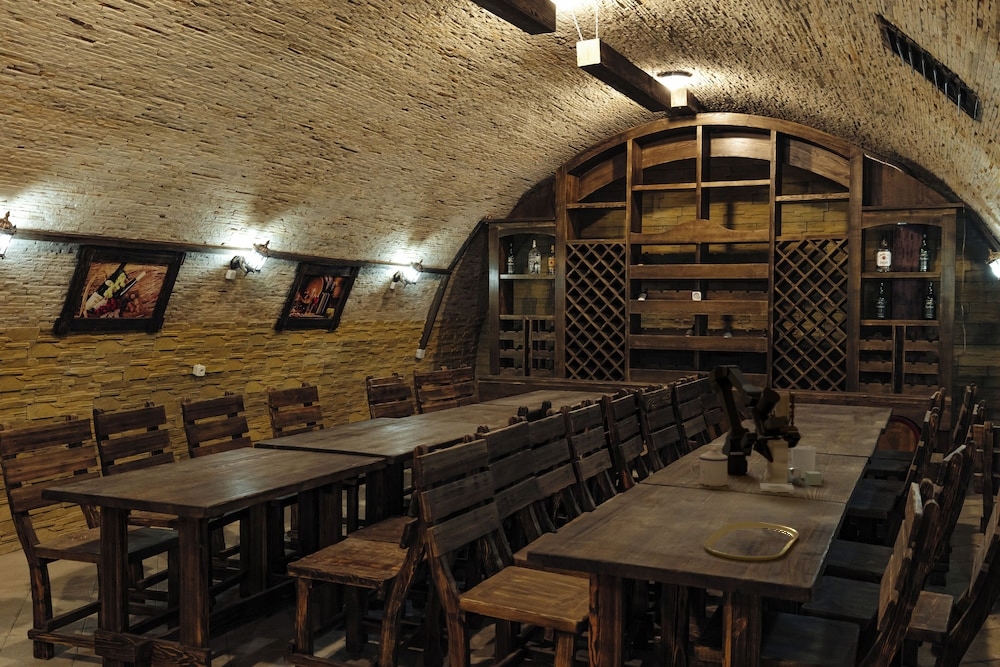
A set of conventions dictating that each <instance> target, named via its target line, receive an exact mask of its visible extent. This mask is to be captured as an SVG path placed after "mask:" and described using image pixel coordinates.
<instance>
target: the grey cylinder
mask: <svg viewBox="0 0 1000 667" xmlns="http://www.w3.org/2000/svg"><path fill="white" fill-rule="evenodd" d="M787 483H792V484H799V483H801V484H802V478H801V468H798V467H792V466H789V467H788V466H787ZM787 483H786V484H787ZM792 484H791V485H792Z"/></svg>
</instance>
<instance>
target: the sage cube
mask: <svg viewBox="0 0 1000 667" xmlns="http://www.w3.org/2000/svg"><path fill="white" fill-rule="evenodd" d="M822 476H823V475H822V473H821V472H819V471H817V470H816V471H805V478H804V484H805V483H807V484H809V485H821V486H822ZM807 484H806V485H807ZM809 485H808V486H809Z"/></svg>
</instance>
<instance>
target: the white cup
mask: <svg viewBox="0 0 1000 667" xmlns="http://www.w3.org/2000/svg"><path fill="white" fill-rule="evenodd" d="M790 449H791V450H790V451H791V467H798V468H801V479H805V471H814V470H815V463H816V453H817V452H816V449H817V448H816V447H814V446H807V445H796V447H794V448H790Z"/></svg>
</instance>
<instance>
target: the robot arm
mask: <svg viewBox="0 0 1000 667" xmlns="http://www.w3.org/2000/svg"><path fill="white" fill-rule="evenodd" d="M707 379H708V382H709V384H710V386H711V388H712V390H713V391H714V392H715V393H716V394H718V398H719V401H720V405H721V410H722V412H723V413H722V414H723V416H724V421H725V424H726V426H727V427H726V428H727V433H726V436H725V442H724V444H723V445H722V448H721V453H722V454H723V455H726V456H727V457H728V460H727V475H735V476H736V475H737V476H740V475H741V476H746V475H747V473H748V469H749V468H748V467H749V466H748V465H749V464H748V462H749V461H748V459H747V457H751V456H752V452H753V451H754V452H756V453H757V454H758V455H760V456H762V457H763V458H764V459H766V460H768V461H769V462H771V463H773V458H772V455H771V453H770V450H769V448H768V440H783V441H786V442H788V449H791V448H794V447H796V446H798V444H799V443H800V440H801V439H802V435H801V433H800V432H799V431H798V432H797V431H792V432H785V434H784V435H779V434H781V433H782V432H781V429H782V428H784V427H786V426H788V425H790V423H789V419H788V417H787V416H781V417H771V416H770V413H772V412H773V411H774V410H776V406H777V404H778V403H779V401H780V395H779V394H778V392H777V391H776V390H775V389H772V388H771V386H764V387H763V390H762V389H761V388H760V387H758V386H754V385H753V384H752V383H751V382H750V381H749V379H748V378H747V377H746V375H745V374H743V372H742V371H741V369H740V366H738V365H732V364H731V365H725V366H722V367H718V368H715V369H714V368H713V369H712V370H711V371H710V372H709V373H708V376H707ZM733 388H735V389H736V391H737V392H738V393H739V395H740V397H739V401H740V402H741V405H742V406H743V407H744V408H745V409H746V408H747V409H748V408H749V409H750V408H751V409H750V412H749V415H748V419H749V420H752V422H753V423H754V427H755V428H754V432H753V431H752V432H750V428H748V427H744V426H743V424H742V421H741V418H740V414H739V411H738V407H737V404H736V400H735V396H734V393H733ZM774 390H775V391H774ZM772 414H773V413H772Z"/></svg>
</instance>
